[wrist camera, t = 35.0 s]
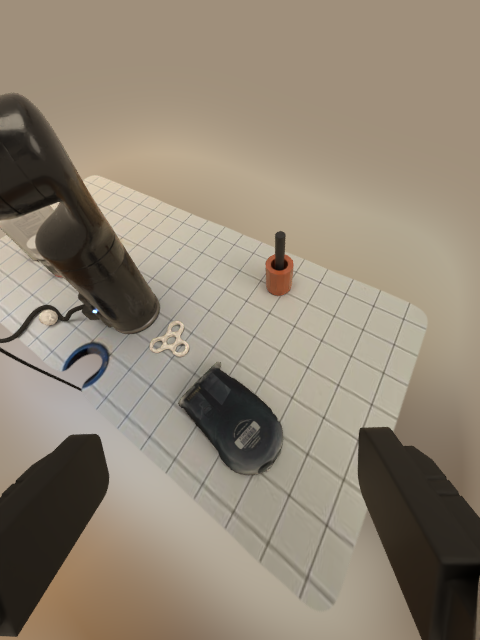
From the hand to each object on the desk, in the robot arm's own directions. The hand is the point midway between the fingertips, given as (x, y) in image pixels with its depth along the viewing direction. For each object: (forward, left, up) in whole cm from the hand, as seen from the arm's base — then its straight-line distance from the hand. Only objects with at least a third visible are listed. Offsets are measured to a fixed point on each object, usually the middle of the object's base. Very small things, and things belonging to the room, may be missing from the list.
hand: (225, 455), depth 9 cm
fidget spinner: (-14, +21, -33) cm, 42 cm away
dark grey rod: (+5, +31, -32) cm, 45 cm away
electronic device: (-4, +7, -33) cm, 34 cm away
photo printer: (-45, +46, -33) cm, 73 cm away
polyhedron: (-38, +26, -33) cm, 57 cm away
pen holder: (+5, +31, -33) cm, 45 cm away
